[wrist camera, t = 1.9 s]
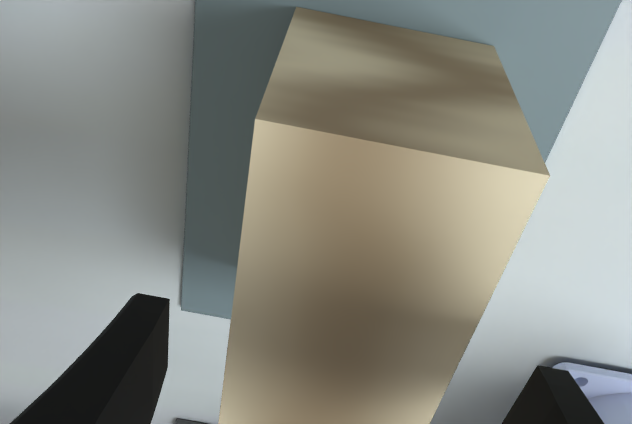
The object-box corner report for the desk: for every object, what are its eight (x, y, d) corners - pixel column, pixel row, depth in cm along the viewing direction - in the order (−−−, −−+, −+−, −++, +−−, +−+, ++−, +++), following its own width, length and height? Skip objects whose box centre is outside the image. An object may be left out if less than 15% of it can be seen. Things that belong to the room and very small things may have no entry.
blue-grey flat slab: (637, -42, 14) (640, -39, 13) (451, 355, 22) (452, 360, 22) (203, -130, 13) (200, -129, 13) (182, 306, 22) (180, 310, 21)
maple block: (494, 46, 15) (549, 175, 10) (402, 299, 20) (409, 464, 15) (296, 6, 15) (255, 119, 10) (256, 272, 20) (217, 430, 15)
